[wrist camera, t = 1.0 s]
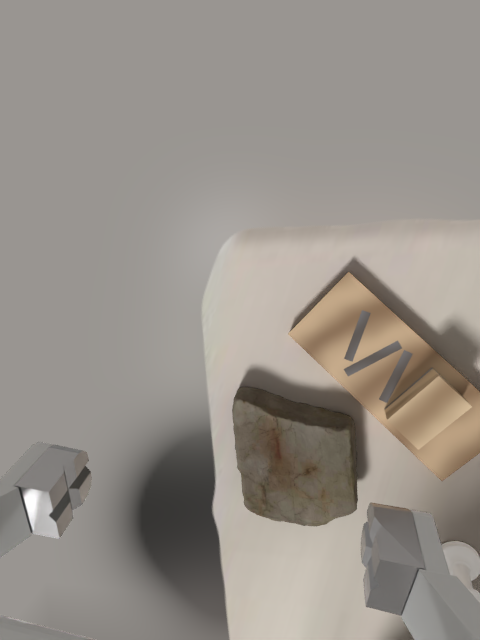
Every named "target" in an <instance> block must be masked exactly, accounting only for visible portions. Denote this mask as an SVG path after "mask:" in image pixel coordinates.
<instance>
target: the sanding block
mask: <svg viewBox="0 0 480 640" xmlns="http://www.w3.org/2000/svg"><path fill="white" fill-rule="evenodd" d="M471 407H472V406H471V405H470V404H469V402H468V401H467V400H466V399H465V398H464V396H463V395H462V394H460V393H459V392H458V391H457V390H456V389H455V388H454V387H453V386H452V385H451V384H450V383H449V382H447V381H446V380H445V379H444V378H443V377H442V376H441V375H440V374H439V373H438V372H437V371H435V370H434V369H433V368H431V369H429V370H428V371H427V372H426V373H425V374H424V375H422V376H421V377H420V378H419V379H418V380H417V381H416V382H414V383H413V384H412V385H411V386H410V387H409V388H407V389H406V390H405V391H404V392H403V393H402V394H400V395H399V396H398V397H397V398H396V399H395V400H394V401H392V402H391V403H390V404H389V405H388V406H387V407H385V408H384V409H385V414H386V418H387V420H388V421H389V422H390V423H391V424H392V425H393V426H394V427H395V428H396V429H397V430H398V431H399V432H400V433H401V434H402V435H403V436H404V437H405V438H406V439H408V440H409V441H410V442H411V443H412V444H413V445H414V446H415V447H416V448H417V449H418V450H419V449H420V448H421V447H423V446H424V445H425V444H426V443H428V442H429V441H430V440H431V439H433V438H434V437H435V436H436V435H438V434H439V433H440V432H441V431H443V430H444V429H445V428H446V427H448V426H449V425H450V424H451V423H453V422H454V421H455V420H456V419H458V418H459V417H460V416H461V415H463V414H464V413H465V412H466V411H468V410H469V409H470V408H471Z"/></svg>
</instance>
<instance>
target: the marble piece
mask: <svg viewBox="0 0 480 640" xmlns="http://www.w3.org/2000/svg"><path fill="white" fill-rule="evenodd" d="M232 411H233V423H234V434H235V449H236V454H237V463H238V464H237V467H238V469H239V471H240V472H241V477H242V492H243V496H244V505H245V506H246V508H247V509H248V510H250V511H251V512H254V513H255V514H257V515H260V516H262V517H266V518H269V519H271V520H274V521H285V522H290V523H296V524H300V525H303V526H306V525H308V526H320V525H324V524H327V523H328V522H330V521H331V520H333V519H335V518H338V517H342V516H346V515H349V514H351V513H353V512H354V511H356V509H357V501H358V498H357V472H356V459H357V457H356V456H357V452H356V437H355V427H354V422H353V419H352V418H351V417H350V416H348V415H345V414H341V413H337V412H331V411H329V410H327V409H323V408H319V407H312V406H310V405H308V404H304V403H296V402H292V401H289V400H287V399H284V398H283V397H281V396H278V395H274V394H271V393H269V392H267V391H264V390H261V389H256V388H249V387H241V388H239V389H238V390H237V393H236V395H235V397H234V403H233V409H232Z"/></svg>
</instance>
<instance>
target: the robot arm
mask: <svg viewBox="0 0 480 640" xmlns="http://www.w3.org/2000/svg"><path fill="white" fill-rule="evenodd" d="M88 461H89V459H88V454H87V452H85V451H82V450H77V449H73V448H68V447H63V446H59V445H53V444H48V443H43V442H37V443H35V444H33V445H32V446H31V447H30V448H29V449H28V450H27V451H26V452H25V453H24V454H23V456H22V457H21V458H20V459H19V460H18V461H17V462H16V463H15V464H14V465H13V466H12V467H11V468H10V469H9V470H8V471H7V472H6V474H5V475H4V476H3V477H2V478H1V479H0V558H1V557H2V556H4V555H5V554H6V553H8V552H9V551H10V550H12V549H13V548H15V547H16V546H17V545H19V544H20V543H22V542H23V541H24V540H26V539H27V538H29V537H30V536H31V535H32V534H37V535H42V536H48V537H53V538H59V539H60V537H61V536H62V534H63V533H64V531H65V530H66V528H67V527H68V525H69V524H70V522H71V521H72V519H73V510H74V509H76V508H77V507H79V506H81V505H82V504H83V502H84V501H85V499H86V497H87V495H88V493H89V490H90V487H91V480H92V477H91V471H90V470H89V469H88V468H87V467H86V466H85V465H86V464H87V462H88ZM367 518H368V522H366V523H364V526H363V530H362V537H361V558H362V563H363V565H364V566H365V567H366V571H365V575H364V579H363V582H364V592H365V603H366V607H369V608H373V609H377V610H381V611H385V612H389V613H393V614H397V615H401V616H402V617H401V618H402V620H403V621H404V623H405V625H406V626H407V628H408V630H409V631H410V633H411V635H412V636H413V638H414V640H480V603H479V601H478V600H477V599H476V598H475V597H474V596H473V595H472V593H471V592H470V591H469V590H468V589H467V588H466V587H465V585H464V584H463V583H462V582H461V581H460V580H459V579H458V577H457V576H452V575H450V573H449V569H448V566H447V562H446V559H445V556H444V552H443V549H442V545H441V542H440V538H439V535H438V531H437V528H436V525H435V521H434V518H433V516H432V515H431V513H427V512H421V511H416V510H409V509H406V508H400V507H394V506H388V505H382V504H376V503H370V504H369V506H368V510H367ZM31 533H32V534H31ZM0 640H95V639H92V638H88V637H84V636H80V635H76V634H72V633H68V632H64V631H61V630H57V629H53V628H49V627H45V626H41V625H38V624H34V623H30V622H26V621H22V620H18V619H14V618H10V617H7V616H3V615H0Z"/></svg>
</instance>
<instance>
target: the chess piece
mask: <svg viewBox="0 0 480 640" xmlns="http://www.w3.org/2000/svg"><path fill="white" fill-rule="evenodd" d="M442 549H443V552H444V556H445V559H446V562H447V566H448V569H449V573H450V575H452V576H457V577H458V579H459V580H460V581H461V582H462V583H463V584H464V585H465V587H466V588H467V589H468V590H469V591H470V592H471V593H472V595H473V596H474V597H475V598H476V599H477V600H478V601H479V603H480V593H479V592H478V591H477V590H475V589H473V586H472V580H474V579H476V578H477V577H478V576H479V574H480V557H479V554H478V553H477V551H476V550H475V549H474V548H473V547H471V546H470V545H468V544H466V543H463V542H460V541H450V542H446V543H444V544H442Z"/></svg>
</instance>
